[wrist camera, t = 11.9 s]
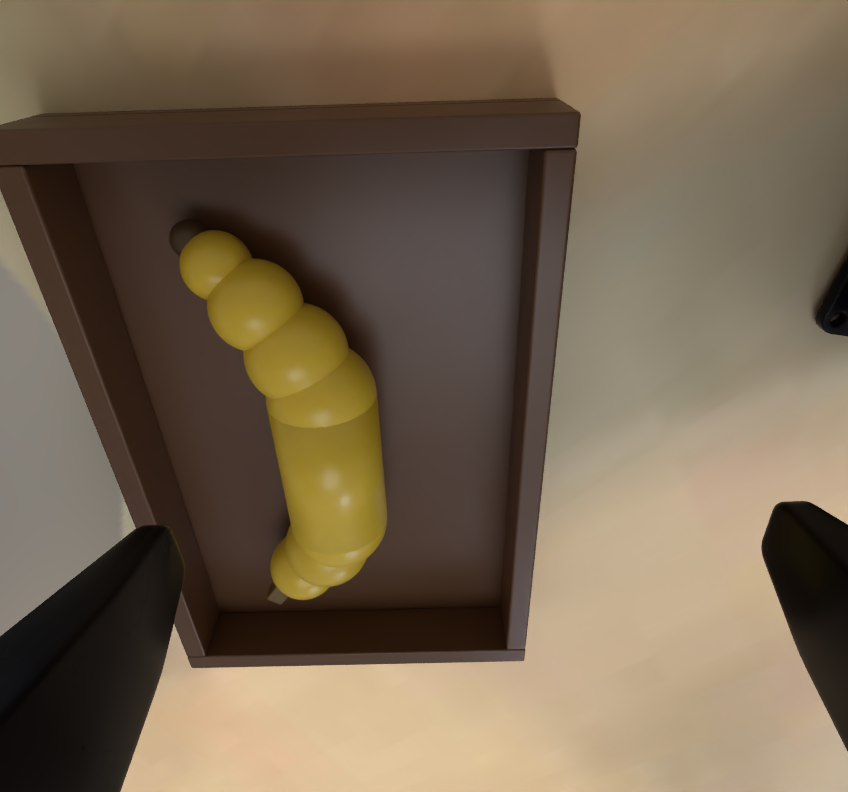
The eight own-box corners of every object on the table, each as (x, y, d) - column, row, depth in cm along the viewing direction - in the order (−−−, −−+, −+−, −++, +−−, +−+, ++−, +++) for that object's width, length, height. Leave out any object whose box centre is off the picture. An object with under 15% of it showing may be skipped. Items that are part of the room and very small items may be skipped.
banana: (396, 571, 25) (393, 642, 22) (266, 574, 25) (246, 646, 23) (367, 208, 17) (356, 247, 14) (174, 213, 17) (125, 253, 14)
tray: (515, 606, 28) (524, 661, 25) (210, 612, 28) (191, 668, 25) (558, 97, 16) (582, 112, 14) (39, 113, 16) (-26, 131, 14)
